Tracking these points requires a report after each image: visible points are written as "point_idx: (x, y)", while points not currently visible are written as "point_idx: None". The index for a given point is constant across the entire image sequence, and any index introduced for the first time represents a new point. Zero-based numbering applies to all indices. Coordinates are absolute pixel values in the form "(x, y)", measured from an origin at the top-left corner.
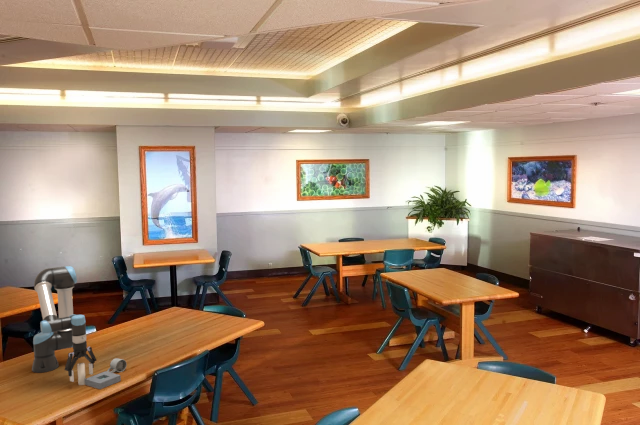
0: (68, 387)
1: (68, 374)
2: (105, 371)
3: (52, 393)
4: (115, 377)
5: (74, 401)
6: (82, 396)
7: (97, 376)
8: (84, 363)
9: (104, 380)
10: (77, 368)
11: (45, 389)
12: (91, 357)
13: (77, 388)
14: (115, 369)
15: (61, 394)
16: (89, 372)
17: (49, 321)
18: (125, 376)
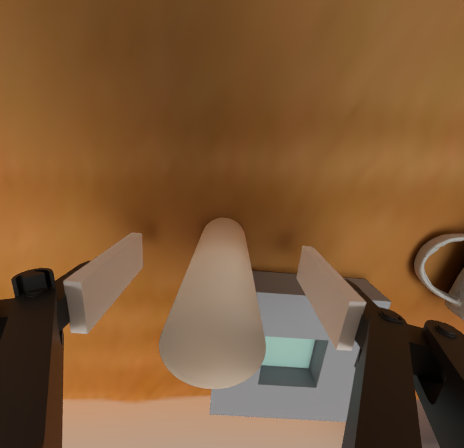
0: (143, 208)
1: (73, 270)
2: (384, 305)
3: (30, 198)
4: (315, 418)
5: None
6: (114, 372)
7: (288, 328)
8: (251, 374)
9: (253, 407)
10: (177, 294)
11: (26, 77)
12: (453, 385)
13: (162, 272)
14: (453, 304)
15: (60, 262)
16: (305, 255)
17: None
18: None
